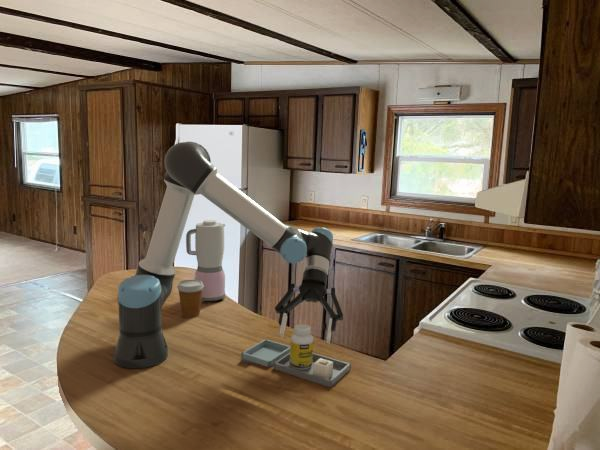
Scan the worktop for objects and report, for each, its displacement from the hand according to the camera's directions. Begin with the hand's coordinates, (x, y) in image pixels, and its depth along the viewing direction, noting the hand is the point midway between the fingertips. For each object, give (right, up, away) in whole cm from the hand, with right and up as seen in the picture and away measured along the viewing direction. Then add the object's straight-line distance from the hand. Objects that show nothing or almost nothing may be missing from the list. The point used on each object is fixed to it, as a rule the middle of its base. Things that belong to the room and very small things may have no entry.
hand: (304, 338), depth 135 cm
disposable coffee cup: (-42, -1, +40) cm, 58 cm away
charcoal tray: (+2, -9, 0) cm, 10 cm away
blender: (-39, +2, +57) cm, 70 cm away
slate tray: (-11, -7, +7) cm, 15 cm away
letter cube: (+5, -9, -4) cm, 11 cm away
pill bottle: (-1, -8, +1) cm, 8 cm away
